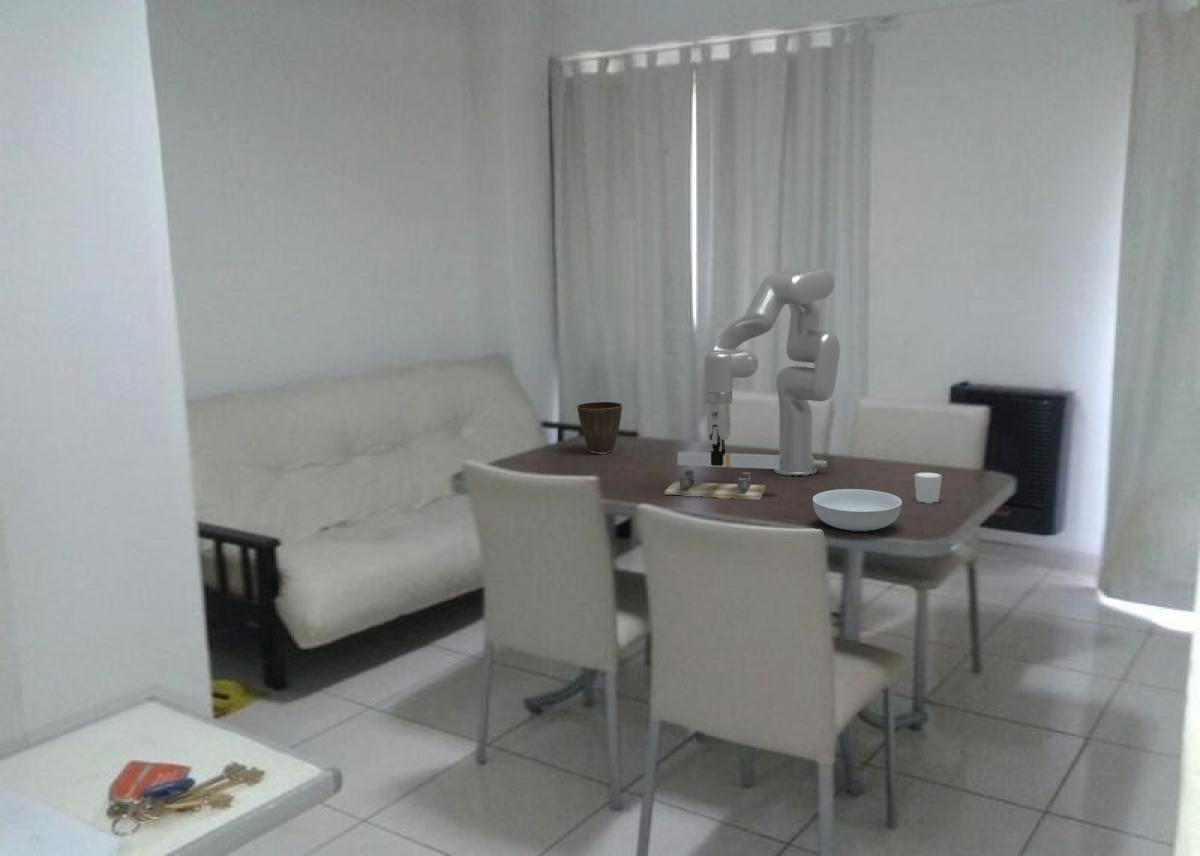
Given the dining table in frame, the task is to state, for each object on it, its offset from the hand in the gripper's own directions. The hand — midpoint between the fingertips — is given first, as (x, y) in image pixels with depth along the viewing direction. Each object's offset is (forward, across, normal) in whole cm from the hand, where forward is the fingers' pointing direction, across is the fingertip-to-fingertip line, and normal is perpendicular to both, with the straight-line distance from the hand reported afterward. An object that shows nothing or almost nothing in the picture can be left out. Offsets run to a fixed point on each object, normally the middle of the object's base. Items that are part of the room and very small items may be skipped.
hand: (718, 463), depth 283 cm
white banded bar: (+1, 0, -3) cm, 3 cm away
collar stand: (+8, 0, +1) cm, 8 cm away
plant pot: (+8, +49, +48) cm, 69 cm away
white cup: (+8, +1, -55) cm, 56 cm away
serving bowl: (+9, -28, -38) cm, 48 cm away
